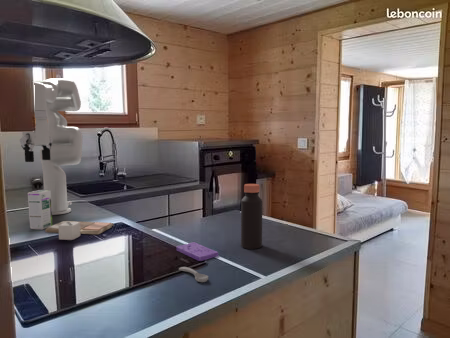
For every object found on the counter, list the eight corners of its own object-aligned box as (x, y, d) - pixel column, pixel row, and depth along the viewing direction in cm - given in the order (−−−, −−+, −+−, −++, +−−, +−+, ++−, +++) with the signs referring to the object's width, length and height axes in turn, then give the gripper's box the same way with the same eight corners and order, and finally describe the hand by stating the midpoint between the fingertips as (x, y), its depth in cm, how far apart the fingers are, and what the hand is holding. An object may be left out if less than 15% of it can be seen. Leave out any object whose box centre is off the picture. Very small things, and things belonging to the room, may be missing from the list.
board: (64, 224, 143) (64, 220, 143) (113, 226, 140) (113, 222, 140) (45, 232, 131) (45, 228, 131) (98, 234, 128) (98, 230, 128)
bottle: (256, 250, 109) (256, 186, 108) (237, 247, 113) (237, 185, 111) (265, 245, 115) (266, 184, 113) (247, 241, 119) (247, 182, 117)
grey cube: (67, 235, 127) (66, 221, 127) (80, 236, 127) (79, 222, 126) (59, 239, 122) (58, 225, 122) (72, 240, 122) (71, 225, 121)
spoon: (201, 285, 85) (200, 277, 85) (176, 273, 94) (176, 266, 94) (211, 282, 87) (210, 274, 87) (186, 271, 96) (185, 264, 96)
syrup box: (42, 229, 135) (40, 192, 133) (29, 229, 136) (27, 191, 135) (52, 226, 140) (51, 189, 139) (39, 225, 142) (38, 189, 140)
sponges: (194, 247, 115) (194, 241, 115) (218, 257, 105) (218, 251, 105) (175, 252, 110) (175, 246, 110) (199, 263, 101) (199, 256, 100)
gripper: (41, 116, 143) (43, 159, 145) (10, 114, 126) (12, 162, 128) (58, 116, 142) (60, 159, 144) (29, 114, 125) (31, 162, 127)
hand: (38, 160), depth 136 cm, fingers open, 9 cm apart
